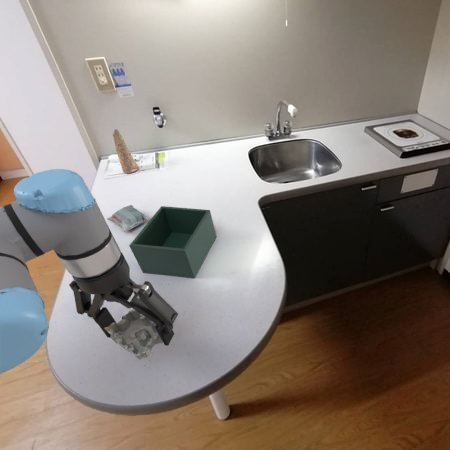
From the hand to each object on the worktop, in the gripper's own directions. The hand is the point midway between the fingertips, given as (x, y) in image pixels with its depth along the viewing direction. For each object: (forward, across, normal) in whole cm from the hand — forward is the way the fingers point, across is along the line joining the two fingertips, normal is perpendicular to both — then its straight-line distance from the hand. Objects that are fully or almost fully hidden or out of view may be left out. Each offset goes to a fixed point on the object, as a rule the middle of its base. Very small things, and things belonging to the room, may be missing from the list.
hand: (141, 335), depth 63 cm
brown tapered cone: (+8, +52, -76) cm, 93 cm away
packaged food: (+8, +32, -42) cm, 54 cm away
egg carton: (0, 0, 0) cm, 0 cm away
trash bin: (+8, +8, -31) cm, 33 cm away
